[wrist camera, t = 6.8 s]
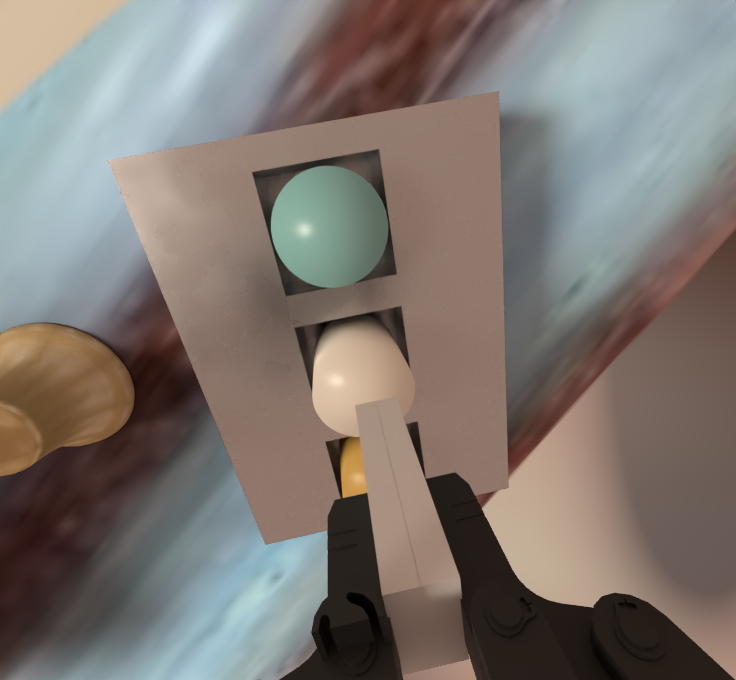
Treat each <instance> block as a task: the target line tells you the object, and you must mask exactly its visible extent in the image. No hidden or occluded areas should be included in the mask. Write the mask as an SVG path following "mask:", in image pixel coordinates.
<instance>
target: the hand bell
mask: <svg viewBox="0 0 736 680" xmlns="http://www.w3.org/2000/svg"><path fill="white" fill-rule="evenodd" d="M134 399H135V390H134V385H133V382H132V379H131V376H130V374H129V371H128V370H127V368H126V367H125V365H124V364H123V362H122V361H121V360H120V358H119V357H118V356H117V355H116V354H115V353H114V352H113V351H112V350H111V349H110V348H108V347H107V346H106V345H105V344H103V343H102V342H100V341H99V340H97V339H96V338H94V337H93V336H91V335H89V334H87V333H84V332H81V331H79V330H77V329H74V328H71V327H67V326H63V325H57V324H50V323H33V324H25V325H20V326H17V327H13V328H11V329H8V330H6V331H4V332H3V333H1V334H0V476H4V475H10V474H14V473H17V472H20V471H23V470H25V469H27V468H28V467H30V466H32V465H33V464H34V463H36V462H37V461H38V460H40V459H41V458H43V457H44V456H46V455H47V454H49V453H50V452H52V451H54V450H55V449H57V448H59V447H61V446H81V445H86V444H91V443H94V442H98V441H100V440H103V439H105V438H108V437H109V436H111V435H113V434H114V433H116V432H117V431H118V430H120V429H121V427H122V426H123V425H124V424H125V423H126V422H127V420H128V419H129V417H130V415H131V413H132V410H133V407H134Z"/></svg>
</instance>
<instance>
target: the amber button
mask: <svg viewBox="0 0 736 680" xmlns="http://www.w3.org/2000/svg"><path fill="white" fill-rule="evenodd" d="M339 453H340V467H341V480H342V494H343V498H346V497H350V496H355V495H359V494H364V493H367V486H366V479H365V472H364V465H363V458H362V451H361V443H360V437H353V436H349V437H345V438H340V439H339Z"/></svg>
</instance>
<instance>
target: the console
mask: <svg viewBox="0 0 736 680" xmlns="http://www.w3.org/2000/svg"><path fill="white" fill-rule="evenodd" d="M108 162H109V164H110V167H111V169H112V172H113V174H114V177H115V179H116V182H117V184H118V186H119V189H120V191H121V194H122V196H123V199H124V201H125V203H126V206H127V208H128V211H129V213H130V216H131V218H132V220H133V223H134V225H135V228H136V230H137V233H138V235H139V238H140V240H141V242H142V245H143V247H144V250H145V252H146V255H147V257H148V259H149V262H150V264H151V267H152V269H153V272H154V274H155V276H156V279H157V281H158V284H159V286H160V289H161V291H162V294H163V296H164V298H165V301H166V303H167V306H168V308H169V311H170V313H171V315H172V318H173V320H174V323H175V325H176V328H177V330H178V332H179V335H180V337H181V340H182V342H183V345H184V347H185V350H186V352H187V354H188V357H189V359H190V362H191V364H192V367H193V369H194V371H195V374H196V376H197V379H198V381H199V384H200V386H201V388H202V391H203V393H204V396H205V398H206V401H207V403H208V406H209V408H210V410H211V413H212V415H213V418H214V420H215V423H216V425H217V427H218V430H219V432H220V435H221V437H222V440H223V442H224V445H225V447H226V449H227V452H228V454H229V457H230V459H231V462H232V464H233V466H234V469H235V471H236V474H237V476H238V479H239V481H240V483H241V486H242V488H243V491H244V493H245V496H246V498H247V501H248V503H249V505H250V508H251V510H252V513H253V515H254V518H255V520H256V522H257V525H258V527H259V530H260V532H261V535H262V537H263V539H264V542H265V544H266V545H267V544H271V543H275V542H279V541H284V540H288V539H292V538H296V537H301V536H305V535H309V534H313V533H318V532H322V531H326V530H328V514H329V512H330V510H331V507H332V505H333V503H334V500H336V499H341V498H343V494H342V480H341V467H340V453H339V439H340V438H345V437H349V436H347V435H344V434H341V433H338V432H336V431H334V430H333V429H331V428H330V427H328V426H327V425H326V424H325V423H324V422H323V421H322V420H321V419H320V417H319V416H318V414H317V412H316V410H315V408H314V404H313V399H312V388H313V367H314V350H315V344H316V341H317V339H318V337H319V335H320V333H321V332H322V331H323V329H324V328H325V327H326V326H327V325H328V324H330V323H331V322H332V321H334V320H336V319H340V318H345V317H350V316H354V315H359V314H360V315H366V316H370V317H373V318H375V319H377V320H379V321H380V322H382V323H383V324H384V325H385V326H386V327H387V328H388V329H389V331H390V332H391V334H392V336H393V338H394V340H395V341H396V343H397V345H398V347H399V349H400V351H401V353H402V355H403V357H404V359H405V360H406V362H407V364H408V366H409V368H410V370H411V372H412V374H413V377H414V381H415V396H414V400H413V403H412V406H411V408H410V410H409V411H408V413H407V414H406V416H405V417H404V421H405V424H406V427H407V429H408V432H409V435H410V438H411V441H412V444H413V446H414V449H415V452H416V455H417V458H418V460H419V463H420V466H421V469H422V472H423V475H424V477H425V479H427V478H431V477H436V476H440V475H445V474H449V473H454V472H456V473H457V474H458V475H459V476H460V477H462V478H463V479H464V480H465V481H466V482H467V483H468V484H469V485H470V487H471V489H472V491H473V493H474V495H475V496H476V495H480V494H484V493H489V492H493V491H497V490H501V489H506V488H508V448H507V406H506V364H505V322H504V281H503V239H502V197H501V155H500V113H499V91H497V92H492V93H486V94H480V95H475V96H469V97H463V98H458V99H452V100H446V101H441V102H435V103H429V104H424V105H418V106H412V107H407V108H401V109H395V110H390V111H384V112H379V113H373V114H367V115H362V116H356V117H350V118H345V119H339V120H333V121H328V122H322V123H316V124H311V125H305V126H299V127H294V128H288V129H282V130H277V131H271V132H265V133H260V134H254V135H248V136H243V137H237V138H231V139H226V140H220V141H214V142H209V143H203V144H197V145H192V146H186V147H181V148H175V149H169V150H164V151H158V152H152V153H147V154H141V155H135V156H130V157H124V158H118V159H113V160H108ZM319 166H336V167H342V168H345V169H348V170H351V171H353V172H355V173H357V174H358V175H360V176H361V177H363V178H364V179H365V180H366V181H367V182H369V183H370V184H371V186H372V187H373V188H374V189H375V190H376V192H377V193H378V195H379V196H380V198H381V200H382V202H383V204H384V207H385V210H386V214H387V219H388V238H387V243H386V247H385V250H384V252H383V255H382V257H381V259H380V260H379V262H378V264H377V265H376V266H375V267H374V269H373V270H372V271H371V272H370V273H369V274H368V275H366V276H365V277H364V278H362V279H361V280H359V281H357V282H355V283H353V284H350V285H347V286H343V287H337V288H326V287H319V286H315V285H312V284H310V283H307V282H305V281H303V280H302V279H300V278H299V277H297V276H296V275H294V274H293V273H292V272H291V271H290V270H289V269H288V268H287V267H286V265H285V264H284V263H283V262H282V260H281V258H280V257H279V255H278V253H277V251H276V249H275V246H274V243H273V239H272V234H271V217H272V211H273V207H274V204H275V201H276V199H277V197H278V195H279V193H280V192H281V191H282V189H283V188H284V186H285V185H286V184H287V183H288V182H289V181H290V180H291V179H292V178H294V177H295V176H296V175H298V174H300V173H301V172H303V171H306V170H308V169H311V168H314V167H319Z"/></svg>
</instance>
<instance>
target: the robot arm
mask: <svg viewBox="0 0 736 680" xmlns="http://www.w3.org/2000/svg"><path fill="white" fill-rule="evenodd" d="M355 408H356V415H357V422H358V429H359V436H360V443H361V451H362V458H363V465H364V472H365V479H366V486H367V493H364V494H359V495H355V496H350V497H346V498H341V499H336V500H334V503H333V505H332V507H331V510H330V512H329V514H328V597H327V598H326V599H325V600H324V601H323V602H322V603H321V605H320V607H319V609H318V611H317V613H316V614H315V616H314V621H313V626H312V632H311V633H312V636H313V638H314V641H315V643H316V646H317V649H316V650H315V652H314V653H313V654H312V655H311V656H310V658H309V659H308V660H306V661H305V662H304V663H303V664H302V665H301V666H299V667H298V668H296V669H295V670H293V671H292V672H290V673H289V674H287V675H286V676H284V677H283V678H282V679H280V680H403V677H402V675H405V674H409V673H413V672H417V671H421V670H426V669H430V668H434V667H438V666H442V665H446V664H450V663H454V662H458V661H463V660H467V659H469V656H470V659H471V662H472V666H473V669H474V672H475V675H476V678H477V680H735V679H733V678H732V677H731V676H730V675H729V674H728V673H727V672H726V671H725V670H724V669H723V668H722V667H720V665H718V664H717V663H716V662H715V661H714V660H713V659H712V658H711V657H710V656H708V654H707V653H705V652H704V651H703V650H702V649H701V648H700V647H699V646H698V645H697V644H696V643H695V642H694V641H692V640H691V639H690V638H689V637H688V636H687V635H686V634H685V633H684V632H683V631H682V630H681V629H679V628H678V627H677V626H676V625H675V624H674V623H673V622H672V621H671V620H670V619H669V618H668V617H667V616H665V615H664V614H663V613H661V612H660V611H659V610H657V609H656V608H655V607H653V606H652V605H651V604H649V603H648V602H646V601H643V600H641V599H639V598H636V597H634V596H631V595H627V594H619V593H613V594H609V595H605V596H602V597H601V598H600V599H599V600H598V601H597V602H596V604H595V605H594V608H591V607H584V606H576V605H569V604H561V603H557V602H553V601H549V600H546V599H544V598H542V597H540V596H538V595H536V594H535V593H533V592H532V591H530V590H529V589H528V588H526V587H525V585H524V584H523V583H521V581H520V580H519V579H518V578H517V576H516V575H515V573H514V572H513V570H512V568H511V566H510V564H509V562H508V560H507V558H506V556H505V554H504V552H503V550H502V548H501V546H500V544H499V542H498V540H497V538H496V536H495V535H494V532H493V530H492V528H491V526H490V524H489V522H488V520H487V519H486V517H485V515H484V513H483V510H482V508H481V506H480V504H479V503H478V501H477V499H476V497H475V495H474V493H473V491H472V489H471V487H470V485H469V484H468V483H467V482H466V481H465V480H464V479H463V478H462V477H460V476H459V475H458V474H457V473H456V472H454V473H449V474H445V475H440V476H436V477H431V478H427V479H425V477H424V475H423V472H422V469H421V466H420V463H419V460H418V458H417V455H416V452H415V449H414V446H413V444H412V441H411V438H410V435H409V432H408V429H407V427H406V424H405V421H404V418H403V415H402V413H401V410H400V407H399V404H398V401H397V398H396V397H392V398H387V399H383V400H378V401H373V402H368V403H364V404H359V405H355ZM468 653H469V656H468Z"/></svg>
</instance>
